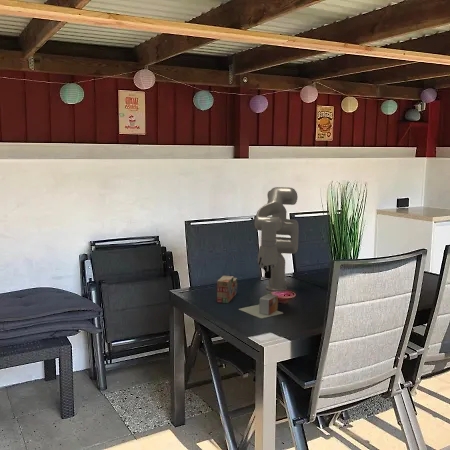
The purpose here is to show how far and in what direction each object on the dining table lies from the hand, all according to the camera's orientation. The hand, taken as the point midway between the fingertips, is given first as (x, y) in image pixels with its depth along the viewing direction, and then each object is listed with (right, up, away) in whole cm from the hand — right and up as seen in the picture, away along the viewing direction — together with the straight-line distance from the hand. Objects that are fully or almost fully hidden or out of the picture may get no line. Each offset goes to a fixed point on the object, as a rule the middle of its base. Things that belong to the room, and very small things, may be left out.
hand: (267, 278), depth 260 cm
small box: (+3, -13, +2) cm, 13 cm away
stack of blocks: (-21, -14, +24) cm, 34 cm away
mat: (-4, -17, -1) cm, 18 cm away
